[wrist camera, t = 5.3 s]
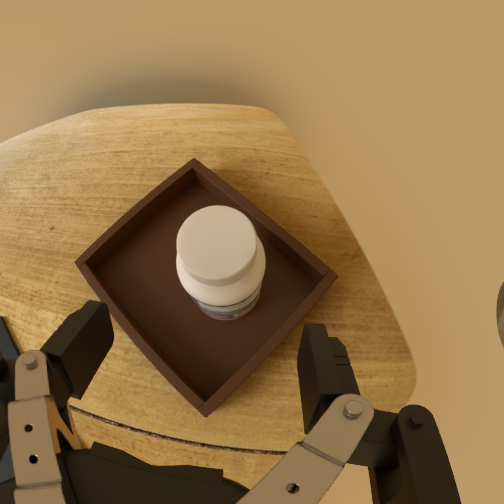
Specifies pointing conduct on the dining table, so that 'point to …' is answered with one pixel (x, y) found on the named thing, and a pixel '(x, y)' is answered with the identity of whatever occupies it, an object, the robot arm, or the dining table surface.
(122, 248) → the tray
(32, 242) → the dining table surface
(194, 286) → the pill bottle
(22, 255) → the dining table surface
